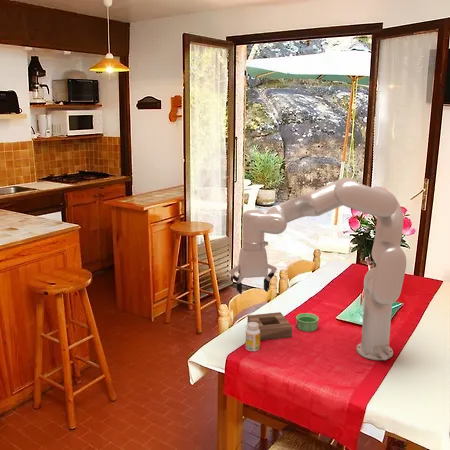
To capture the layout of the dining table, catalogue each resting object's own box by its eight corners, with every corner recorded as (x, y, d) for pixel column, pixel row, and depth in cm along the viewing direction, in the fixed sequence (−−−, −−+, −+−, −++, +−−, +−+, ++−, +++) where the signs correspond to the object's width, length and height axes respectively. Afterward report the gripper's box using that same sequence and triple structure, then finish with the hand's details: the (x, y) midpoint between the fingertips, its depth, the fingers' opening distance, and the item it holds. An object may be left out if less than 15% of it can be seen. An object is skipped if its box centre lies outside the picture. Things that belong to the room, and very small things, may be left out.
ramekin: (318, 333, 192) (318, 323, 191) (295, 331, 194) (295, 321, 193) (318, 323, 200) (318, 313, 199) (296, 322, 202) (296, 312, 201)
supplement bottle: (246, 352, 177) (246, 327, 175) (244, 345, 183) (244, 321, 180) (261, 351, 178) (261, 326, 176) (258, 344, 183) (259, 320, 181)
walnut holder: (291, 337, 188) (292, 326, 187) (256, 341, 186) (257, 330, 184) (280, 322, 202) (280, 312, 201) (247, 325, 199) (247, 315, 198)
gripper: (273, 241, 177) (272, 286, 180) (227, 244, 173) (227, 289, 177) (280, 247, 169) (279, 293, 173) (231, 250, 166) (231, 297, 170)
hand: (252, 291), depth 175 cm, fingers open, 9 cm apart
